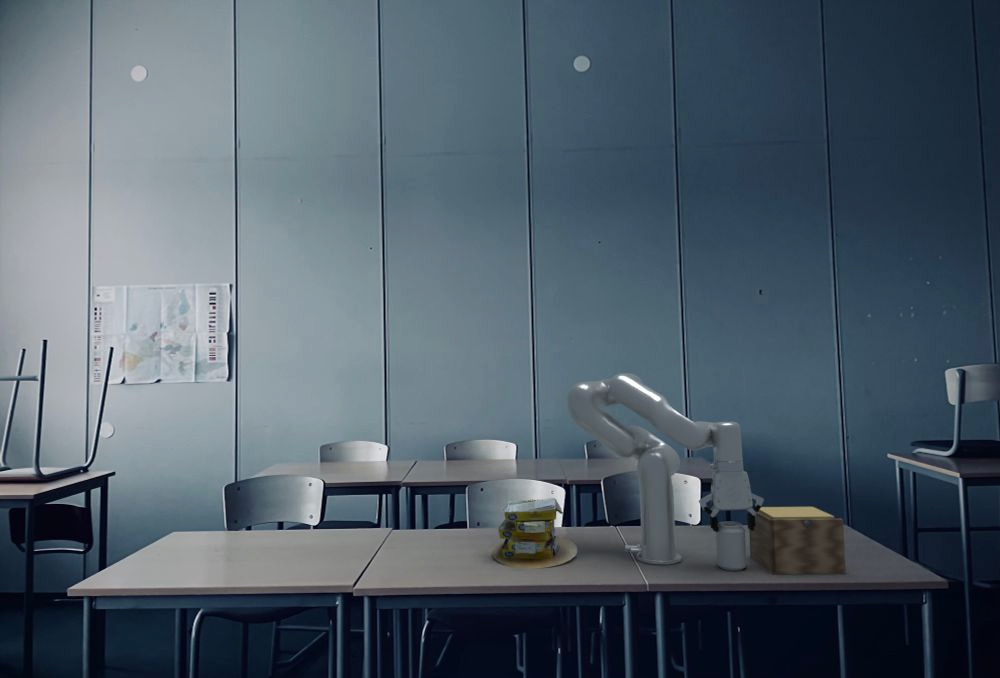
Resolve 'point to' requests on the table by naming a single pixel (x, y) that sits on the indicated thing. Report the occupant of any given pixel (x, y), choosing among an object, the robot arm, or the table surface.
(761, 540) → the trapdoor frame
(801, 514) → the trapdoor flap
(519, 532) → the stacked yellow boxes
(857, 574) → the table surface
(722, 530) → the can
